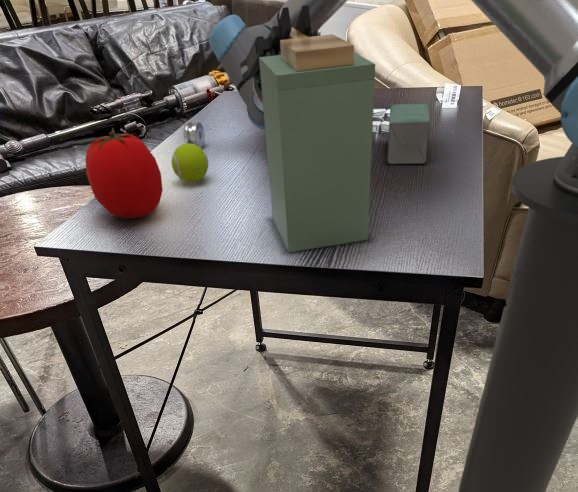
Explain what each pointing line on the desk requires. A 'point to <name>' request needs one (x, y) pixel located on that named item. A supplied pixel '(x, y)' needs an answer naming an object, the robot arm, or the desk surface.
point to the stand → (319, 150)
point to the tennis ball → (189, 162)
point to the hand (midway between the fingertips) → (297, 17)
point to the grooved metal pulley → (194, 133)
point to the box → (408, 134)
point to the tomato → (124, 175)
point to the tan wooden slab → (316, 51)
